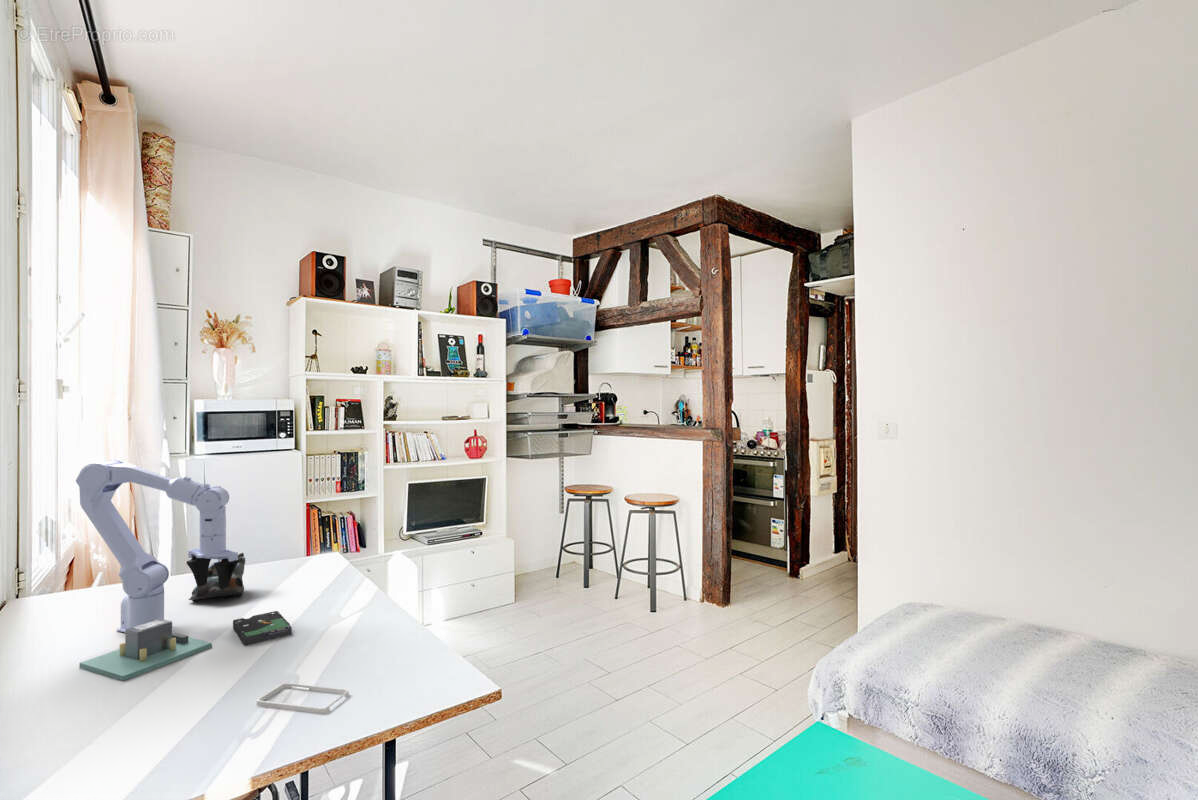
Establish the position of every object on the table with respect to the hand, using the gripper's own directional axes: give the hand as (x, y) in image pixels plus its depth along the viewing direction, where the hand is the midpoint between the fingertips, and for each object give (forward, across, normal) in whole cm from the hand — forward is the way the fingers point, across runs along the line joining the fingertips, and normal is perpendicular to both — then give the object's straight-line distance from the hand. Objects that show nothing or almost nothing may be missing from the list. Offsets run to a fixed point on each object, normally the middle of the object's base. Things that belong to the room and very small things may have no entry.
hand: (213, 586), depth 151 cm
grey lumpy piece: (+10, -18, +16) cm, 26 cm away
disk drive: (+10, +17, -1) cm, 20 cm away
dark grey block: (+8, +5, -20) cm, 22 cm away
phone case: (+10, +53, -26) cm, 60 cm away
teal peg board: (+9, +5, -20) cm, 22 cm away
